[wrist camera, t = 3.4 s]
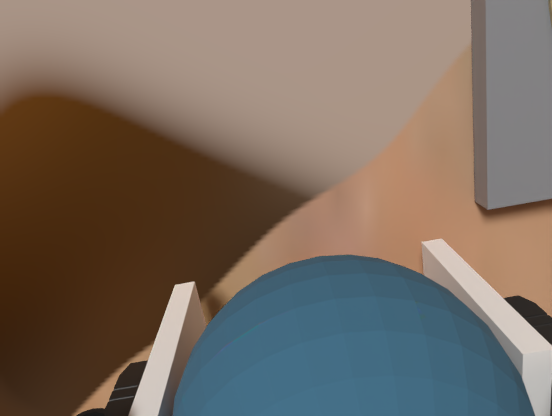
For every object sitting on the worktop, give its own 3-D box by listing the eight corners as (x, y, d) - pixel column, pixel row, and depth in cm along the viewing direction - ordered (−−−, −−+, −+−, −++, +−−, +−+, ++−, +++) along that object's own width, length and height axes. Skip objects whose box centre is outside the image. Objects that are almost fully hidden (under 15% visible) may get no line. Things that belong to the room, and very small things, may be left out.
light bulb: (173, 219, 17) (8, 545, 6) (379, 147, 16) (659, 348, 5) (248, 382, 20) (239, 825, 8) (428, 325, 19) (680, 717, 8)
